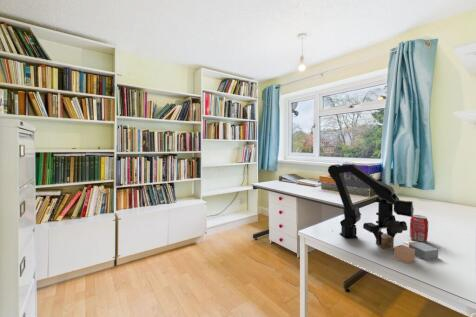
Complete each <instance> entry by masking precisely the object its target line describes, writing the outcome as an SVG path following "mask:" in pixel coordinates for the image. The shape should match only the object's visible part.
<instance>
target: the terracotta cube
mask: <svg viewBox="0 0 476 317" xmlns="http://www.w3.org/2000/svg"><path fill="white" fill-rule="evenodd" d="M393 251H394V252H393V253H394V254H393V256H394V257H393V258H394V259H395V260H398V261H400V262H403V263H404V264H410V263H412V262H415V258H416V257H415V256H416V255H415V249H412V248H410V247H409V246H408V245H406V244H405V245H404V244H399V245H395V246H394V250H393Z"/></svg>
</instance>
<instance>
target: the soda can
mask: <svg viewBox="0 0 476 317" xmlns="http://www.w3.org/2000/svg"><path fill="white" fill-rule="evenodd" d="M428 235H429V220H428V217H426V216H425V215H420V214H413V217H410V221H409V238H410V239H411V240H412V241H417V242H419V243H421V242H422V243H425V242H427V241H428V237H429V236H428Z"/></svg>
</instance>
